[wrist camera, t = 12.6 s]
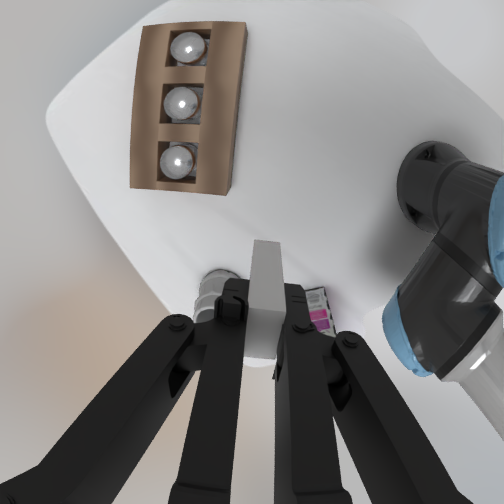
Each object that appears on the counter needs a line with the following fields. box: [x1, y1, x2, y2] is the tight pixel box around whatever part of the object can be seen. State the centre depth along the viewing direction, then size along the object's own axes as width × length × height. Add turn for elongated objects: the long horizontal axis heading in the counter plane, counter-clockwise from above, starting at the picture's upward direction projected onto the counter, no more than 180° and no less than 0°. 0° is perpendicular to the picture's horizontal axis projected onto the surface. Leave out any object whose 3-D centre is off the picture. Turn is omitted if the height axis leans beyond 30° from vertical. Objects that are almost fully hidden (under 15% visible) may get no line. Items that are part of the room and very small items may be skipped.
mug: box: [193, 270, 239, 323], centre depth 44 cm, size 8×12×12 cm, turn 71°
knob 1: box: [170, 32, 209, 66], centre depth 30 cm, size 4×4×5 cm
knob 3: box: [160, 144, 198, 179], centre depth 37 cm, size 4×4×5 cm
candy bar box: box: [305, 287, 337, 337], centre depth 43 cm, size 11×5×16 cm, turn 15°
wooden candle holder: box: [130, 21, 248, 196], centre depth 34 cm, size 14×24×5 cm, turn 174°
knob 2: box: [164, 87, 203, 120], centre depth 34 cm, size 4×4×5 cm
